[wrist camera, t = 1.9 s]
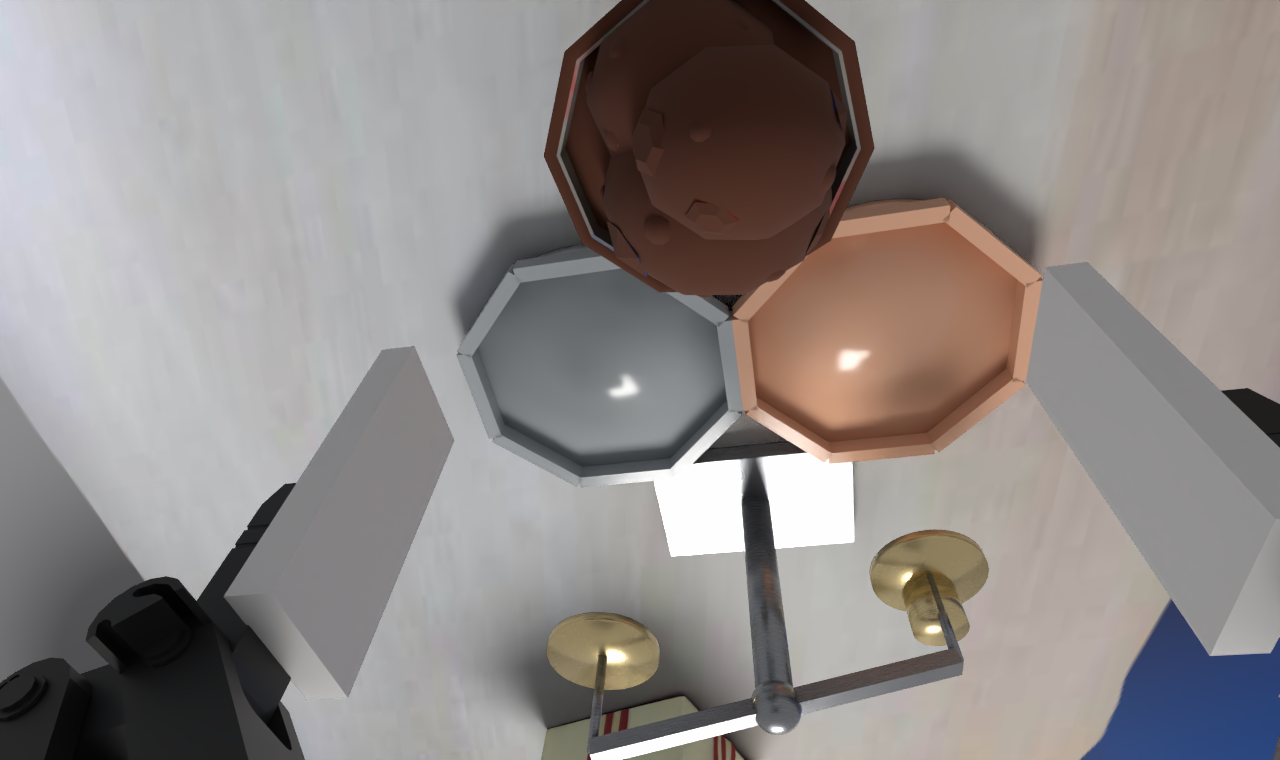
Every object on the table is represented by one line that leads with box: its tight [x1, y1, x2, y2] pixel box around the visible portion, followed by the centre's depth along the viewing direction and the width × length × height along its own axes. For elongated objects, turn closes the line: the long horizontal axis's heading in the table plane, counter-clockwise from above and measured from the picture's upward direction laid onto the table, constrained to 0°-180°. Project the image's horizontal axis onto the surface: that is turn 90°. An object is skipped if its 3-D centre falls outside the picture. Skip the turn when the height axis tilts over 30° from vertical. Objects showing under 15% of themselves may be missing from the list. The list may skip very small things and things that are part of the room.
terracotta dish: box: [731, 197, 1043, 464], centre depth 37 cm, size 15×15×2 cm
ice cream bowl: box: [544, 0, 874, 298], centre depth 25 cm, size 11×11×15 cm
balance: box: [547, 441, 989, 760], centre depth 39 cm, size 8×24×17 cm, turn 101°
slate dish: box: [457, 245, 743, 487], centre depth 40 cm, size 15×15×2 cm
